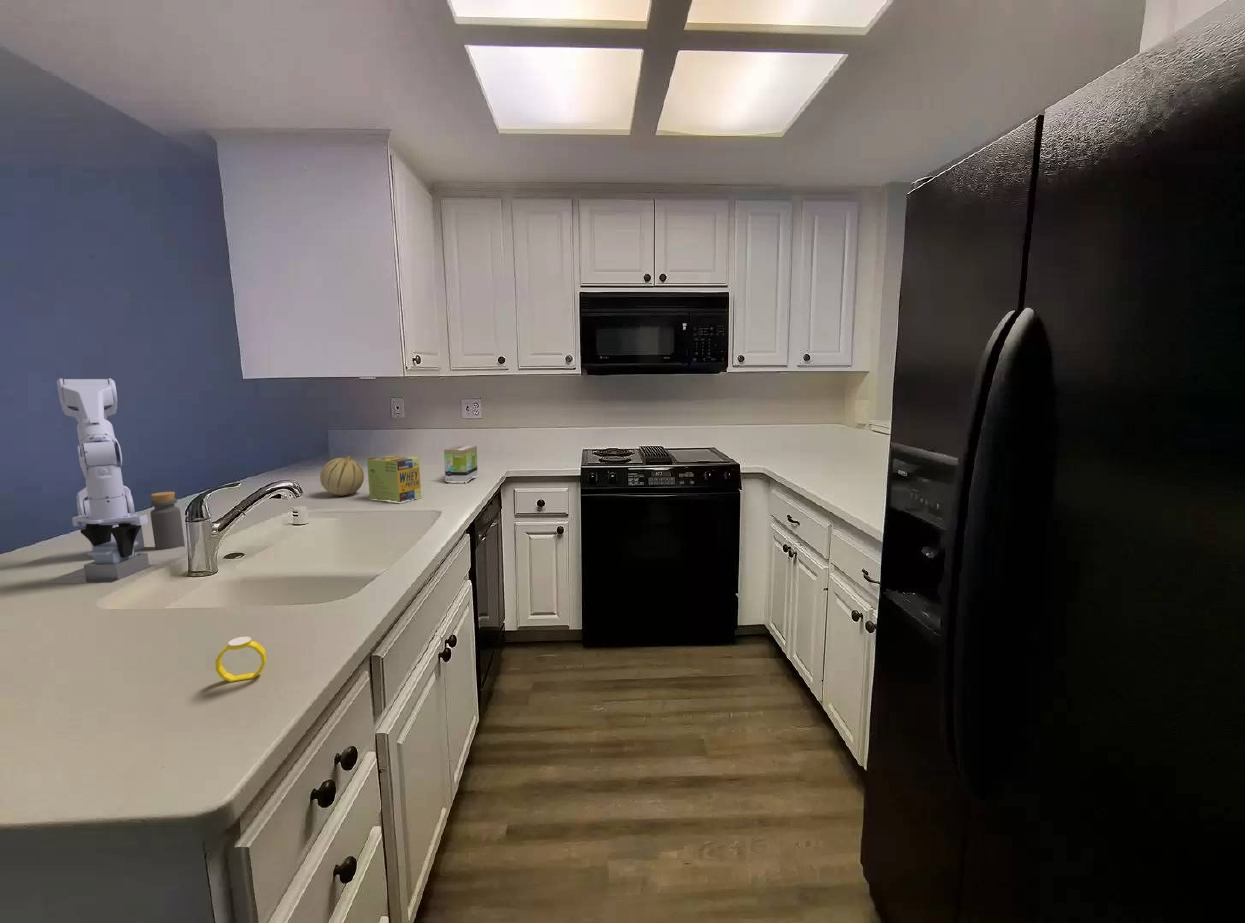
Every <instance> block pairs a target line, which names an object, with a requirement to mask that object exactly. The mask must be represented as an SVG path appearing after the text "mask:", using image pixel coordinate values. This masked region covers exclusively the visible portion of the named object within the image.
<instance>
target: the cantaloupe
mask: <svg viewBox="0 0 1245 923" xmlns="http://www.w3.org/2000/svg"><path fill="white" fill-rule="evenodd" d="M319 476H320V478H319V480H320V484H321V486H322V487H323V489H324V490H326V491H327V492H328V493H329V494H332V495H334V496H338V495H347V494H351V495H352V494H355V493H356V492H358V491H359V490H360V488H361V487H362V485H363V483H364V480H365V473H364V470H363V467H362V466H361V465H360V463H358V462H357V461H356V460H354V459H352V457H351V455H348V457H336V458H333V459H331V460H330V461H328V462H327V463H326V464H324V466H322V469H321V471H320V475H319ZM347 496H348V495H347Z"/></svg>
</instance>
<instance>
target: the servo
mask: <svg viewBox="0 0 1245 923" xmlns="http://www.w3.org/2000/svg"><path fill="white" fill-rule="evenodd" d="M137 544H138V542H134V545H137ZM93 555H94V558H93V560H94V561H95V564H103V563H118V562H120V561H123V560H126V559H129V558H131V557H134V556H136V553H135V551H134V549H133V552H132V555H131V556H128V557H125V558H121V556H120V554H119V551H118V546H117V543H116V540H113V541H110V542H107V543H104V544H101V545H98V546H95V547H93V551H92V550H91V551H88V552H87V556H93Z"/></svg>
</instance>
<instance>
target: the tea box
mask: <svg viewBox="0 0 1245 923" xmlns="http://www.w3.org/2000/svg"><path fill="white" fill-rule="evenodd" d="M477 448H478V447H477V445H455V446H452V447H449V448H445V449H444V451H443V452H444V479H445V480H444V482H445V481H468V480H469V479H471V478H472V477H473V476H476V475H477V474H479V473H478V450H477Z"/></svg>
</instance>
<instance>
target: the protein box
mask: <svg viewBox="0 0 1245 923" xmlns="http://www.w3.org/2000/svg"><path fill="white" fill-rule="evenodd" d="M366 465H367V477H368V478H367V479H368V490H369V499H370V498H371V499H377V500H391V501H397V502H402V501H406V500H412V499H415V498H418V497H421V498H422V485H421V472H420V458H419V457H418V456H415V457H414V456H401V455H385V456H378V457H371V458H367V459H366Z"/></svg>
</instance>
